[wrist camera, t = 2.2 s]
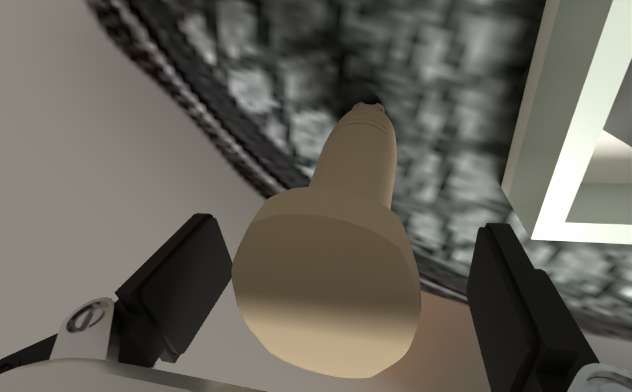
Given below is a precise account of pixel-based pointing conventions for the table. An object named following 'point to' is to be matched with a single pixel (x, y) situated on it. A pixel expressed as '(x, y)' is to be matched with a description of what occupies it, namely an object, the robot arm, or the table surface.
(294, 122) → the table surface
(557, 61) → the housing
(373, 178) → the handle
